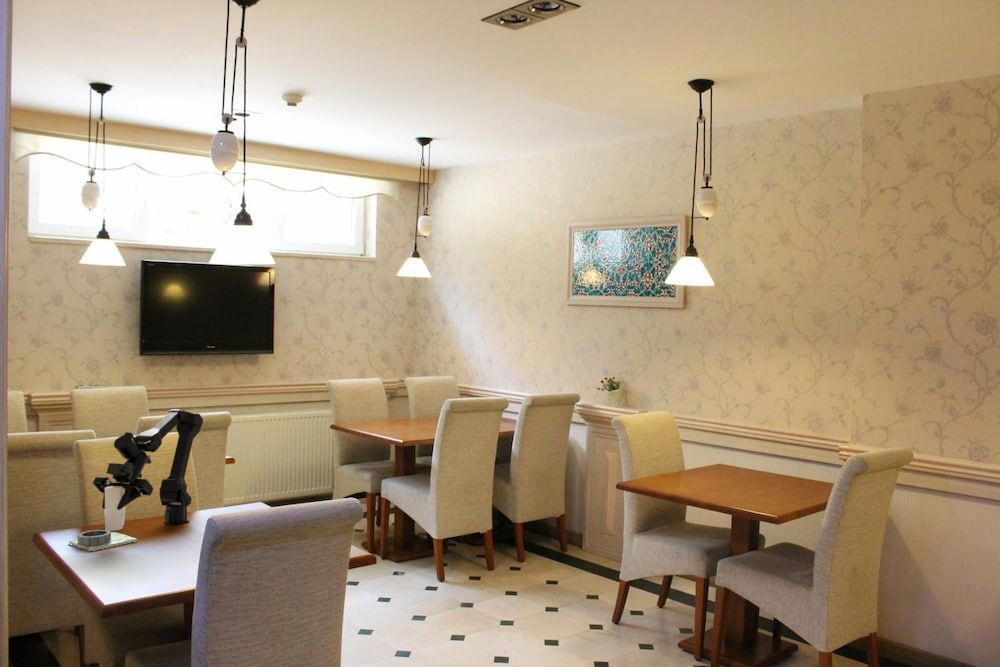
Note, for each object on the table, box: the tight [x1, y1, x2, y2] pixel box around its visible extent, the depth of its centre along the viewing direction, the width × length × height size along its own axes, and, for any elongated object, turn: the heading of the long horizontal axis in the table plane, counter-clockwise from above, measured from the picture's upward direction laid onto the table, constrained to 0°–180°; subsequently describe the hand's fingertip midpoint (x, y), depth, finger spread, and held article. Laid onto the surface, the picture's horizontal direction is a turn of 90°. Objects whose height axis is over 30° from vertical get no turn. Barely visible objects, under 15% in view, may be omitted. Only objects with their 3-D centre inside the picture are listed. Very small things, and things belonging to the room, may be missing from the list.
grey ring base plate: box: [68, 529, 138, 552], centre depth 272 cm, size 15×14×4 cm
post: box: [104, 486, 124, 532], centre depth 267 cm, size 5×5×13 cm
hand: (110, 508), depth 266 cm, fingers closed on post, 5 cm apart
